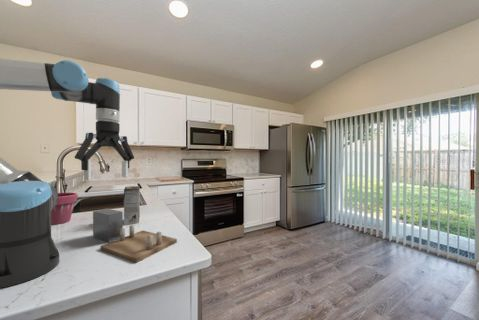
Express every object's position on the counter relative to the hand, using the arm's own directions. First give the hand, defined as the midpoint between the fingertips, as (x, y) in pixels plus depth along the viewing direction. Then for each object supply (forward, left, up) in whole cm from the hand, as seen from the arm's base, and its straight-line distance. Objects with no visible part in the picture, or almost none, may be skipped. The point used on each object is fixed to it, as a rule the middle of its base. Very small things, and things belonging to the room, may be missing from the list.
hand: (107, 178), depth 76 cm
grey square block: (0, 0, -23) cm, 23 cm away
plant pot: (0, +39, -23) cm, 45 cm away
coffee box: (+17, +10, -23) cm, 30 cm away
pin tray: (+1, -17, -23) cm, 28 cm away
